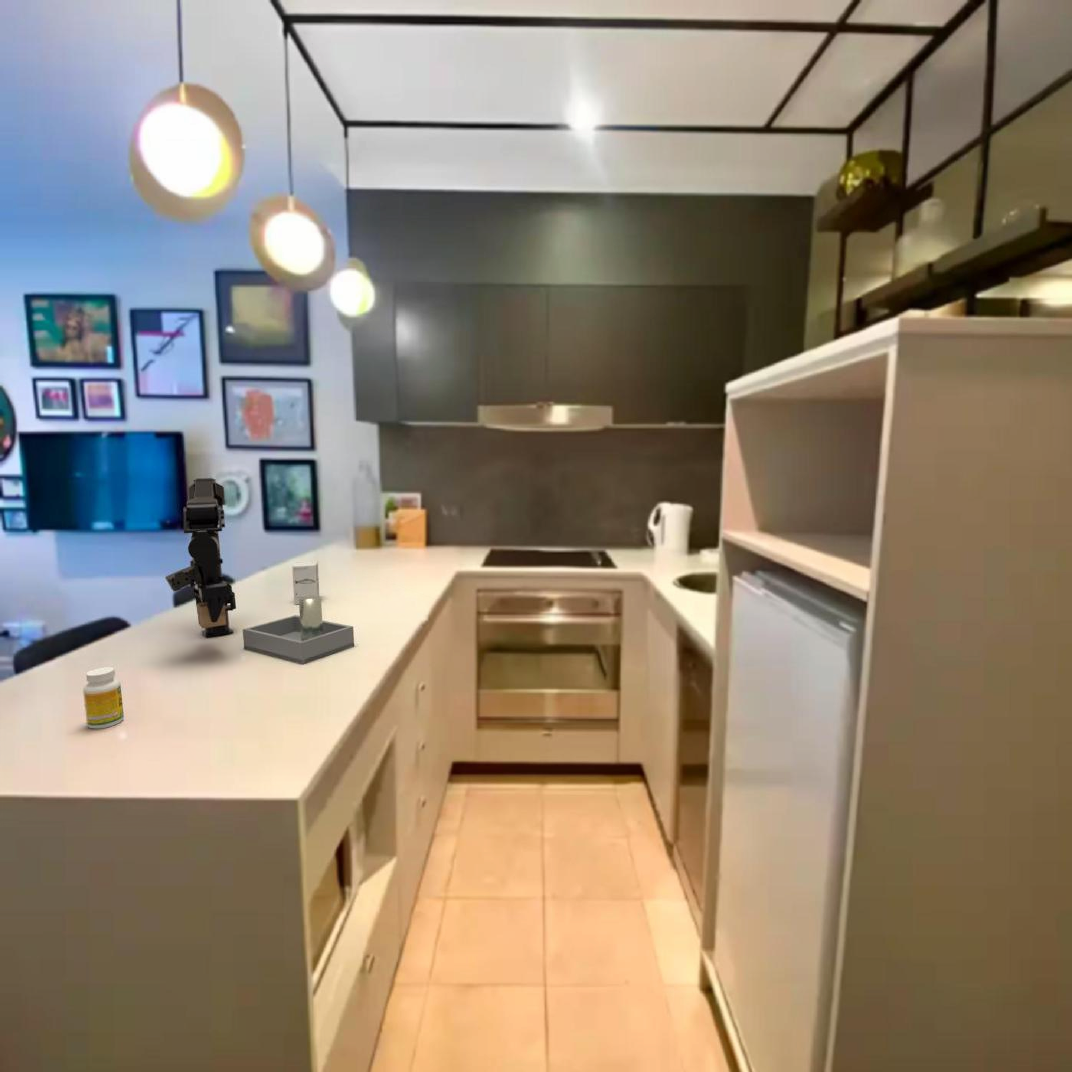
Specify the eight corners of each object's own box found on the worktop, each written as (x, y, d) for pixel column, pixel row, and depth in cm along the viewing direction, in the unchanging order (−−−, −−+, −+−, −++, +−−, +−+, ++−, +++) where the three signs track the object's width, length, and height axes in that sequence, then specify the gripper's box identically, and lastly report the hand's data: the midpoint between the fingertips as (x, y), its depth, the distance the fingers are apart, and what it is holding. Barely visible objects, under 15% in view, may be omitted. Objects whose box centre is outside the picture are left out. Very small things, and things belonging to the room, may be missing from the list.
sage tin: (298, 650, 142) (295, 600, 141) (305, 643, 147) (302, 596, 146) (320, 649, 143) (317, 600, 141) (326, 643, 148) (323, 595, 146)
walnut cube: (198, 623, 143) (196, 603, 143) (221, 620, 147) (220, 600, 146) (202, 628, 140) (200, 607, 139) (226, 624, 143) (224, 603, 142)
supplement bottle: (84, 723, 107) (78, 671, 105) (120, 713, 110) (114, 663, 109) (91, 732, 103) (84, 679, 102) (127, 722, 107) (122, 670, 106)
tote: (244, 649, 147) (242, 629, 146) (296, 633, 160) (295, 615, 159) (302, 664, 136) (301, 643, 135) (354, 646, 148) (353, 626, 148)
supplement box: (293, 605, 190) (291, 566, 188) (296, 600, 197) (293, 562, 196) (318, 603, 192) (316, 564, 190) (320, 598, 199) (318, 560, 197)
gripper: (160, 554, 143) (167, 617, 145) (173, 564, 129) (179, 635, 131) (213, 549, 150) (218, 610, 152) (230, 558, 136) (235, 625, 138)
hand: (212, 619), depth 143 cm, fingers closed on walnut cube, 5 cm apart
